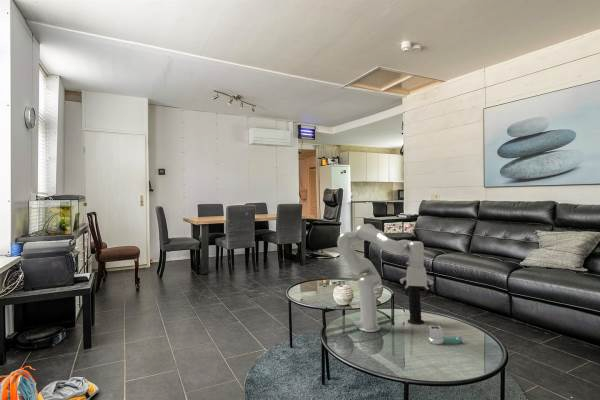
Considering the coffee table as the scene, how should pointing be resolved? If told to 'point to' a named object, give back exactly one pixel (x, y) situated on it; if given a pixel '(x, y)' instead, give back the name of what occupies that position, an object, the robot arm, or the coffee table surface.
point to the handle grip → (414, 305)
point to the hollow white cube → (435, 332)
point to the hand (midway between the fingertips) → (416, 295)
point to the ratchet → (445, 340)
